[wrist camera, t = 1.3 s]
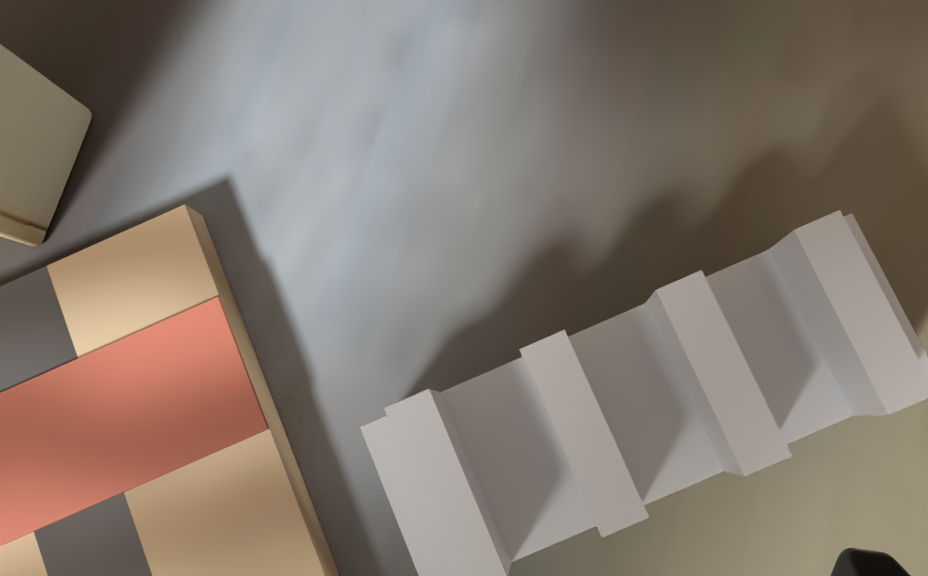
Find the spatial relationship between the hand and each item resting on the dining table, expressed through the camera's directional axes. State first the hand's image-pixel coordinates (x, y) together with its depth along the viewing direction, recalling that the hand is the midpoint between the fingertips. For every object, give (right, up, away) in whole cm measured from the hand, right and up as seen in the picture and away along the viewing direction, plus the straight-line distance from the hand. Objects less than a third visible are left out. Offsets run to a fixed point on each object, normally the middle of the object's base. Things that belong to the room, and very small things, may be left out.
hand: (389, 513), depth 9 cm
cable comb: (+5, -1, +13) cm, 14 cm away
